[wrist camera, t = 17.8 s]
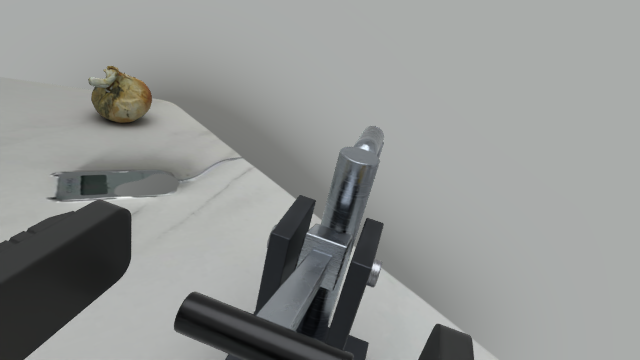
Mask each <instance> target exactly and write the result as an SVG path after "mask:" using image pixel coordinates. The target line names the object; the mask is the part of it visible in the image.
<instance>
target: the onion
mask: <svg viewBox="0 0 640 360" xmlns="http://www.w3.org/2000/svg"><path fill="white" fill-rule="evenodd" d="M104 72H105V73H106V75H107V76H106V79H98V78H93V77H91V78H89V79H88V80H89V84H90V85H92V86H95V88H94V90H93V92H92V99H91V100H92V103H93V105H94V107H95V109H96V110H97V112H98V113H99V114H100V115H101V116H103V117H104V118H106V119H108V120H111V121H115V122H120V123H127V122H132V121H134V120H136V119H138V118H140V117H142V116H143V115H144V114H145V113H146V112H147V111H148V110H149V109H150V106H151V103H152V95H151V92H150V90H149V89H148V87H147V86H146V84H145V83H144V82H142V81H141V80H138V79H136V78H135V77H130V76H129V75H126V74H125V73H124V74H122V73H121V72H119V71H118V68H116V67H113V66H108V67H107V70H106V69H105V70H104Z"/></svg>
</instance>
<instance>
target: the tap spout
mask: <svg viewBox="0 0 640 360" xmlns="http://www.w3.org/2000/svg"><path fill="white" fill-rule="evenodd" d="M383 140H384V135H383V132H382V130H381V129H380V128H378V127H376V126H370V127H368V128H366V129H365V130H364V131H363V133H362V135H361V136H360V138H359V139H358V141H357V143H356V144H355V146H354V147H345V148H342V149H341V150H340V153H339V157H338V161H337V164H336V169H335V172H334V176H333V180H332V184H331V188H330V191H329V195H328V199H327V203H326V206H325V211H324V214H323V218H322V222H321V225H323V226H326V227H329V228H331V229H334V230H337V231H340V232H343V233H346V234H349V235H352V237H353V238H352V241H351V244H350V247H349V250H348V253H347V256H346V259H345V262H344V265H343V268H342V271H341V274H340V277H339V279H338V281H337V284H336V286H335V288H334V290H333V291H330V290H328V289H325V288H322V287H319V289H318V291H317V293H316V295H315V296H314V298H313V300H312V302H311V304H310V305H309V307H308V309H307V311H306V313H305V314H304V316H303V318H302V320H301V322H300V323H299V325H298V327H297V329H296V331H297V332H299V333H302V334H304V335H307V336H309V337H312V338H314V339H317V340H319V341H322V342H323V340H324V337H325V334H326V331H327V328H328V325H329V321H330V318H331V315H332V312H333V309H334V305H335V302H336V299H337V296H338V293H339V290H340V286H341V283H342V280H343V277H344V274H345V271H346V267H347V264H348V261H349V258H350V255H351V252H352V248H353V245H354V242H355V239H356V236H357V233H358V229H359V226H360V223H361V220H362V217H363V213H364V210H365V207H366V204H367V200H368V198H369V194H370V191H371V188H372V185H373V182H374V179H375V175H376V172H377V169H378V166H379V163H380V160H379V157H380V154H381V150H382V147H383V144H384V142H383Z"/></svg>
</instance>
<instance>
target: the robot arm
mask: <svg viewBox="0 0 640 360" xmlns="http://www.w3.org/2000/svg"><path fill="white" fill-rule="evenodd" d="M130 260H131V213H130V211H129V210H127V209H125V208H122V207H119V206H117V205H114V204H111V203H109V202H106V201H103V200H97V201H94V202H92V203H90V204H88V205H87V206H85V207H83V208H81V209H79V210H77V211H76V212H74V211H71V212H68V213H64V214H60V215H57V216H53V217H50V218H47V219H45V220H43V221H41V222H40V223H38V224H36V225H34V226H32V227H30V228H28V230H27V231H26V232H25V231H23V232H21V233H19V234H17V235H15V236H13V237H11V238H10V240H9V241H6V240H5V241H4V242H2V243H0V360H24V359H25V358H26V357H27V356H29V355H30V354H31V353H32V352H33V351H35V350H36V349H37V348H38V347H39V346H41V345H42V344H43V343H44V342H45V341H47V340H48V339H49V338H50V337H51V336H53V335H54V334H55V333H56V332H57V331H59V330H60V329H61V328H62V327H63V326H65V325H66V324H67V323H68V322H69V321H71V320H72V319H73V318H74V317H75V316H76V315H78V314H79V313H80V312H81V311H82V310H84V309H85V308H86V307H87V306H88V305H90V304H91V303H92V302H93V301H94V300H96V299H97V298H98V297H99V296H100V295H102V294H103V293H104V292H105V291H106V290H108V289H109V288H110V287H111V286H112V285H114V284H115V283H116V282H117V281H118V280H119V279H120V278H121V277H122V276H123V275H124V273H125V272H126V270H127V268H128V266H129V264H130ZM418 360H474V354H473V343H472V338H471V336H470V335H468V334H465V333H462V332H459V331H457V330H454V329H451V328H449V327H446V326H443V325H441V324H436V325H435V326H434V328H433V330H432V332H431V334H430V336H429V338H428V340H427V342H426V345H425V347H424V349H423V351H422V353H421V355H420V357H419V359H418Z"/></svg>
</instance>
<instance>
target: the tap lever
mask: <svg viewBox="0 0 640 360" xmlns="http://www.w3.org/2000/svg"><path fill="white" fill-rule="evenodd" d="M352 238H353V237H352V235H349V234H346V233H343V232H340V231H337V230H334V229H331V228H329V227H326V226H323V225H320V224H315V225H314V226H313V227H312V228H311V229H310V230H309V231H308V232H306V234H305V236H304V240H303V243H302V246H301V249H300V253H299V256H298V259H297V262H296V266H295V269H294V271H293V273H292V274H291V275H290V276H289V277H288V278H287V280H286V281H285V282H284V283H283V284H282V286H281V287H280V288H279V289H278V290H277V291H276V293H275V294H274V295H273V296H272V297H271V298H270V300H269V301H268V302H267V303H266V304H265V305H264V307H263V308H262V309H261V310H260V311H259V312H258V314H257V315H254V314H251V313H248V312H246V311H243V310H241V309H238V308H236V307H233V306H231V305H228V304H226V303H223V302H221V301H218V300H216V299H213V298H211V297H208V296H205V295H203V294H200V293H198V292H192V293H190V294H189V295H188V296H187V297H186V299H185V300H184V301H183V303H182V305H181V306H180V308H179V310H178V313H177V315H176V318H175V322H174V329H175V331H176V332H178V333H180V334H182V335H185V336H187V337H190V338H192V339H194V340H197V341H199V342H202V343H204V344H206V345H209V346H211V347H214V348H216V349H218V350H221V351H223V352H226V353H228V354H230V355H233V356H235V357H238V358H240V359H242V360H353V358H354V355H353V354H352V353H350V352H347V351H345V350H342V349H339V348H337V347H334V346H332V345H329V344H327V343H324V342H322V341H319V340H317V339H314V338H312V337H309V336H307V335H304V334H302V333H299V332H297V331H296V329H297V327H298V325H299V323H300V322H301V320H302V318H303V316H304V314H305V313H306V311H307V309H308V307H309V305H310V304H311V302H312V300H313V298H314V296H315V295H316V293H317V291H318V289H319V287H322V288H325V289H328V290H330V291H333V290H334V288H335V286H336V284H337V281H338V279H339V277H340V274H341V271H342V268H343V265H344V262H345V259H346V256H347V253H348V250H349V247H350V244H351V241H352Z"/></svg>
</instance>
